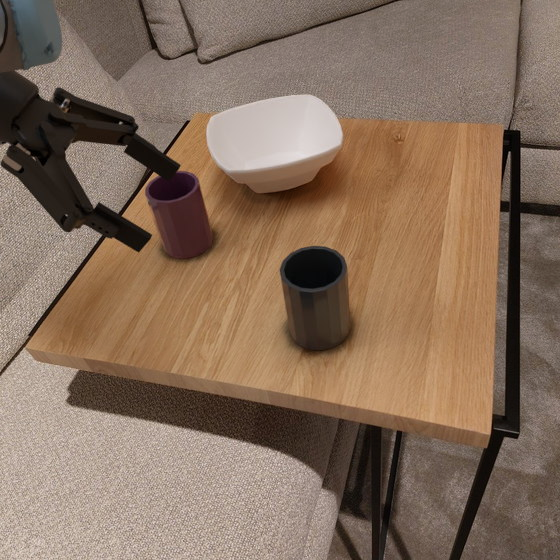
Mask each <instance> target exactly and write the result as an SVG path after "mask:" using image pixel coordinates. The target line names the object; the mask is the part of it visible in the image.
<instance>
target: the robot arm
mask: <svg viewBox="0 0 560 560" xmlns="http://www.w3.org/2000/svg"><path fill="white" fill-rule="evenodd" d="M62 50H63V34H62V28H61V23H60V18H59V15H58V12H57V8H56V5H55V3H54V0H0V146H3V145H6V144H8V145H9V146H8V147H7V149H6V151H5V153H4V155H3V157H2V159H1V161H0V166H1V167H2V168H3V169H4V170H5V171H7V172H8V173H9V174H11V175H13V176H14V177H15V178H17V179H18V180H19V182H21V184H22V185H23V186H24V187H25V188H26V189H27V191H28V192H29V193H30V194H31V195H32V196H33V198H35V200H36V201H37V202H38V203H39V204H40V206H41V207H42V208H43V209H44V210H45V211H46V213H47V214H48V215H49V216H50V217H51V218H52V219H53V220H54V222H55V223H56V225H58V226H59V228H60V229H61V230H62V231H63V232H65V233H72V232H73V230H74V229H75V230H80V229H81V228H82V227H83V226H86V227H88V228H90V229H91V230H93V231H95V232H96V233H99V235H102V236H103V237H105V238H107V239H111V240H112V239H115V240H117V241H118V242H120V243H122V244H123V245H124V246H127V247H128V248H130V249H132V250H134V251H135V252H137V253H138V254H139V253H140V252H141V251H142V250H143V249H144V247H146V245H147V244H149V242H150V241H151V240H152V237H153V234H152V233H151V232H149V231H147V230H146V229H144V228H142V227H140V226H139V225H137V224H136V223H135V222H132V221H131V220H129V219H128V218H126V217H124V216H123V215H121V214H119V213H118V212H117V211H115V210H113V209H111V208H110V207H108V206H106V205H105V204H103V203H102V202H100V201H98V202H97V204H96V205H95V206H94V205H93V204H92V202H91V200H90V198H89V196H88V194H87V193H86V192H85V189H84V188H83V186H82V185H81V183H80V181H79V180H78V178H77V176H76V175H75V172H74V171H73V169H72V167H71V166H70V164H69V162H68V160H67V153H66V151H67V150H68V149H69V148H70V146H71V144H75V143H77V142H84V143H93V144H101V145H110V146H119V147H125V149H124V150H123V153H124V154H126V155H127V156H129V157H130V158H132V159H134V160H135V161H136V162H138V163H139V164H141V165H143V166H144V167H146V168H147V169H148V170H150V171H151V172H153V173H154V174H156V175H157V176H161V177H162V178H164V179H165V180H167V181H168V182H169V181H170V179H171V178H172V177H173V176H174V174H175V173H176V172H177V171H180V168H181V166H182V164H180V163H179V162H177V161H175V160H174V159H173V158H171V157H170V156H168V155H166V154H165V153H164V152H162V151H161V150H159V149H158V148H157V147H156V146H155V145H154V144H152V143H151V142H150V141H148V140H147V139H145V138H144V137H142V136H141V135H139V134H138V133H136V132H137V131H138V130H139V128H140V126H139V124H137V122H136V119H135V117H134V116H132V115H130V114H127V113H124V112H122V111H119V110H116V109H113V108H110V107H108V106H105V105H101V104H98V103H96V102H94V101H93V102H92V101H90V100H87V99H84V98H81V97H78V96H76V95H74V94H73V93H71V92H69V91H68V90H66V89H64V88H63V87H56V88H55V90H54V91H53V93H52V95H51V97H50V99H49V100H47V99H45V98H43V97H41V96H40V88H39V86H38V85H37V83H34V82H33V81H31V80H30V79H28V78H26V77H25V76H24V75H22V74H21V73H19V72H18V71H20V70H22V71H28V70H30V69H31V68H35V67H40V66H44V65H48V64H52V63H55V62H57V60H58V59H59V57H60V56H61V54H62Z"/></svg>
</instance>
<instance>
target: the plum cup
mask: <svg viewBox="0 0 560 560" xmlns="http://www.w3.org/2000/svg"><path fill="white" fill-rule="evenodd" d="M144 195H145V198H146V201H147V205H148V207H149V211H150V213H151V217H152V219H153V222H154V225H155V228H156V231H157V235H158V236H159V240H160V242H161V245H162V248H163V250H164V252H165V253H166V254H167V255H168V256H170V257H172V258H175V259H182V260H183V259H190V258H194V257H197V256H200V255H201V254H203V253H205V252H206V251H207V250H209V248H210V247H211V246H212V244H213V241H214V235H213V229H212V225H211V222H210V218H209V214H208V211H207V206H206V203H205V198H204V194H203V191H202V188H201V183H200V180H199V177H197V176H196V174H195V173H193V172H190V171H187V170H178V171H177V172H176V173H175V174H174V176H173V177H172V178H171V179H170V181H169V182H168V181H167V180H165V179H164V178H162V177H161V176H159V175H157V176H156V177H154V178H153V179H151V180H150V181H149V182H148V183H147V185H146V186H145V190H144Z"/></svg>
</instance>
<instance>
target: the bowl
mask: <svg viewBox="0 0 560 560" xmlns="http://www.w3.org/2000/svg"><path fill="white" fill-rule="evenodd" d="M344 137H345V135H344V132H343V128H342V125H341V122H340V120H339V118H338V116H337V115H336V114H335V112H334V111H333V110H332V109H331V108H330V106H329V105H327V103H325V102H324V101H323V100H322V99H320V98H318V97H317V96H315V95H313V94H292V95H291V94H290V95H285V96H277V97H271V98H266V99H261V100H257V101H251V102H249V103H244V104H241V105H238V106H234V107H232V108H228V109H225V110H223V111H220V112H218V113H216V114H214V115H211V117H210V119H209V121H208V123H207V125H206V132H205V138H206V145H207V149H208V152H209V154H210V156H211V158H212V160H213V161H214V163H215V164H216V166H217V167H218V168H219V169H220V170H221V171H223V172H224V173H225V174H226V175H227V176H228V177H229V178H231V179H232V180H233V181H234V182H236V183H237V184H245V185H246V186H247V187H248V188H249V189H250V190H252V191H253V192H254V193H255V194H268V193H276V192H282V191H287V190H291V189H295V188H297V187H300V186H303V185H305V184H308V183H310V182H312V181H313V180H314V179H315V178H316V176H317V174H318V173H319V171H320V170H321V168H323V167H325V166H327V165H329V164H330V163H332V162H333V161H334V159H335V158H336V156H337V155H338V153H339V152H340V150H341V149H342V148H343V145H344V144H343V143H344Z"/></svg>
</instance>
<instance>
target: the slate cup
mask: <svg viewBox="0 0 560 560" xmlns="http://www.w3.org/2000/svg"><path fill="white" fill-rule="evenodd" d="M279 277H280V283H281V289H282V294H283V301H284V306H285V312H286V318H287V324H288V330H289V335H290V338H291V339H292V340H293V341H294V342H295V343H296V344H297V345H298V346H299V347H301V348H304V349H305V350H310V351H317V352H320V351H321V352H322V351H327V350H330V349H334V348H335V347H337V346H339V345H340V344H342V342H344V341H345V340H346V338H347V337H348V335H349V334H350V330H351V312H350V310H351V309H350V290H349V272H348V263H347V261H346V258H345V256H344V255H342V253H340V252H339V251H338V250H336V249H334V248H331V247H329V246H325V245H324V246H323V245H309V246H304V247H300V248H298V249H296V250H293V251H292V252H290V253H288V255H286V257H284V259H283V260H282V262H281V265H280V267H279Z"/></svg>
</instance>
